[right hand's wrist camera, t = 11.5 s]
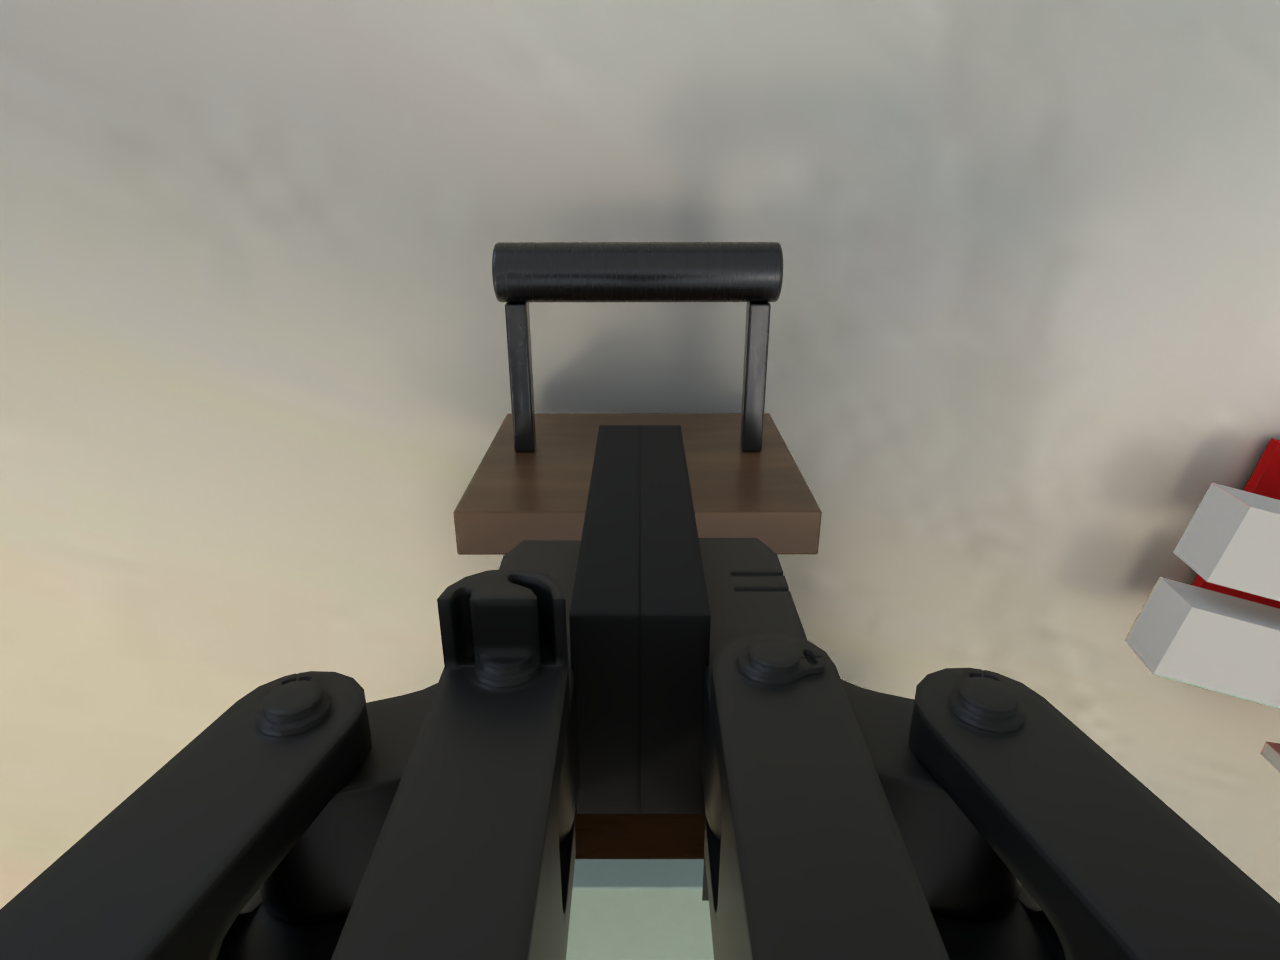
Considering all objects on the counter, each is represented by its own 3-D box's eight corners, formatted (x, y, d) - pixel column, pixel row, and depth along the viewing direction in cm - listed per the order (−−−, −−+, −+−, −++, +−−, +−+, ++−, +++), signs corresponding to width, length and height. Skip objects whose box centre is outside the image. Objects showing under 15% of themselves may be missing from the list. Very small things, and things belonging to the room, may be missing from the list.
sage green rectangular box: (514, 671, 32) (460, 888, 22) (763, 671, 32) (816, 888, 22) (536, 967, 39) (501, 1233, 29) (743, 967, 39) (777, 1233, 29)
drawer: (494, 232, 25) (428, 260, 17) (781, 232, 25) (845, 260, 17) (531, 780, 33) (498, 969, 25) (746, 780, 33) (779, 968, 25)
